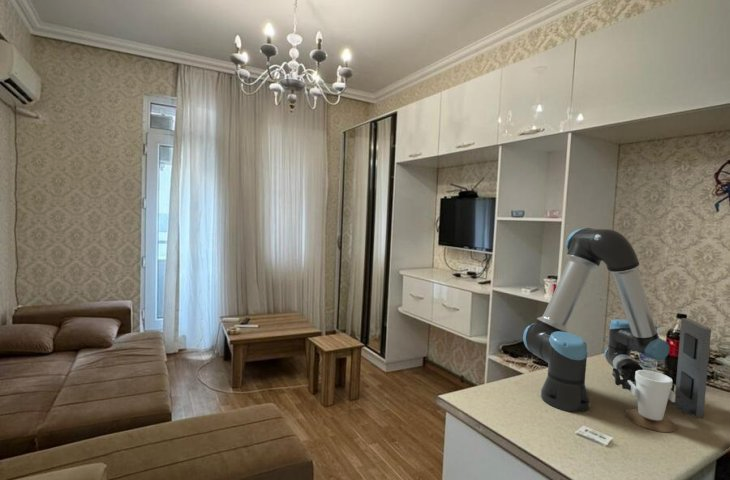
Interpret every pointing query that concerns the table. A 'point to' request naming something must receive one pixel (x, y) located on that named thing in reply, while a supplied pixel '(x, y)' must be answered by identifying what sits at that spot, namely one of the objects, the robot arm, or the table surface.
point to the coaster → (650, 422)
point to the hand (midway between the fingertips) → (654, 395)
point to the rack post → (692, 368)
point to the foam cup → (652, 393)
